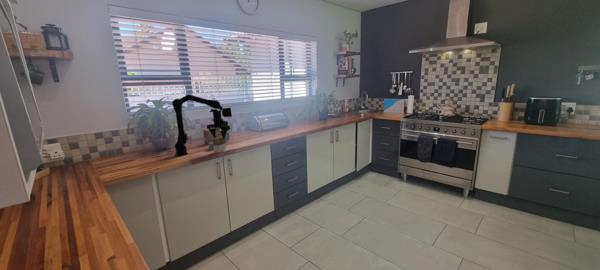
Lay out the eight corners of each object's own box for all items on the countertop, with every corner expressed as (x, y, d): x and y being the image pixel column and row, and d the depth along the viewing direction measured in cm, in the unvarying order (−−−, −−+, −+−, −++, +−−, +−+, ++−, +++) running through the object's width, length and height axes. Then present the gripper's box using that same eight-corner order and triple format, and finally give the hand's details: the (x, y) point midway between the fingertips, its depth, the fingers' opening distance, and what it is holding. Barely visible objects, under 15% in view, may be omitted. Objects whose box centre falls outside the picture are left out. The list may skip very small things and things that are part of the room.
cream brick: (219, 152, 184) (218, 145, 182) (214, 151, 185) (213, 145, 184) (226, 149, 191) (225, 143, 190) (221, 148, 192) (220, 142, 191)
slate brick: (211, 150, 189) (210, 144, 188) (208, 149, 192) (208, 143, 191) (221, 148, 195) (220, 142, 193) (218, 147, 198) (217, 141, 197)
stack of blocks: (225, 138, 226) (223, 125, 223) (229, 139, 223) (228, 125, 220) (204, 143, 209) (202, 129, 206) (209, 144, 205) (207, 130, 203)
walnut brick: (217, 145, 182) (217, 139, 181) (213, 145, 184) (212, 138, 183) (225, 143, 189) (225, 136, 188) (221, 142, 191) (220, 136, 190)
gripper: (234, 116, 185) (236, 137, 188) (216, 115, 194) (218, 135, 197) (223, 119, 175) (225, 140, 179) (205, 117, 184) (207, 138, 188)
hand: (219, 138), depth 186 cm, fingers open, 9 cm apart
